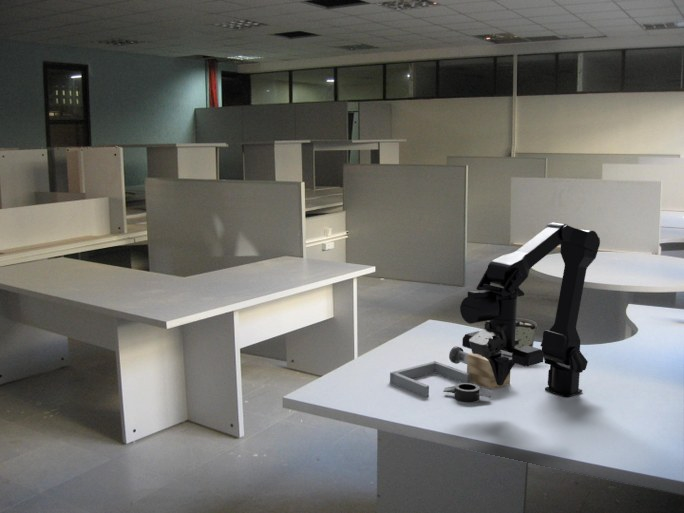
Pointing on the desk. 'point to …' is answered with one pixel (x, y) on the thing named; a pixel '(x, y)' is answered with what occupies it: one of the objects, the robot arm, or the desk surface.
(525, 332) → the food container
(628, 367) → the desk surface
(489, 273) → the robot arm
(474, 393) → the black ring with tabs
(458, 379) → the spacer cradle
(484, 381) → the bearing block
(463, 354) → the shaft
